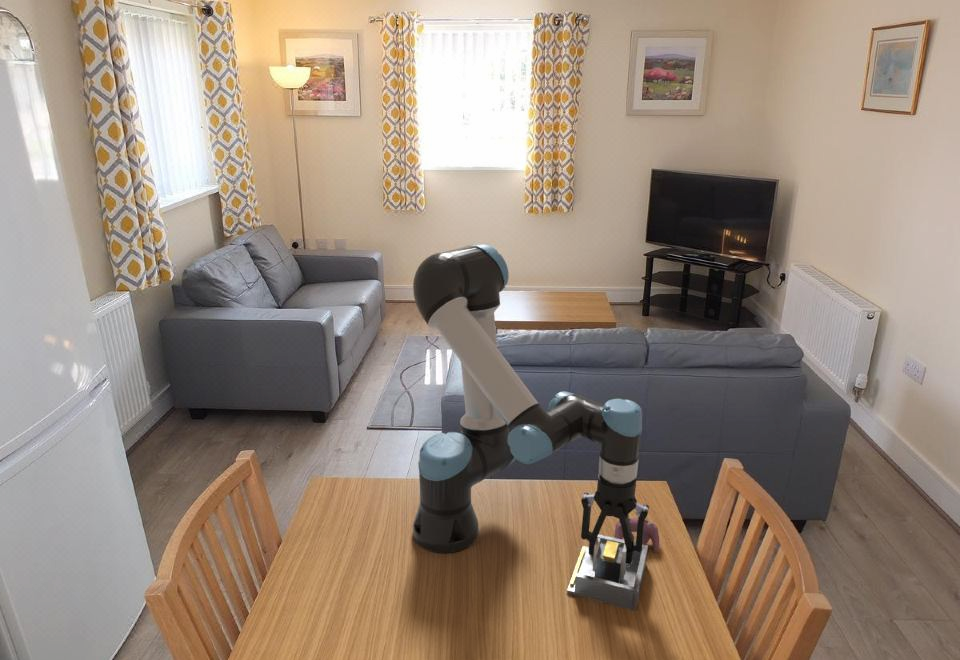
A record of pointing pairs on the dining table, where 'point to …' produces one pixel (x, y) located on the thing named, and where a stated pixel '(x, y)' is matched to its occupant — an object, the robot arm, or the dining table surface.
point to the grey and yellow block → (609, 562)
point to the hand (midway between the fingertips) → (609, 570)
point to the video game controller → (649, 531)
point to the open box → (607, 590)
